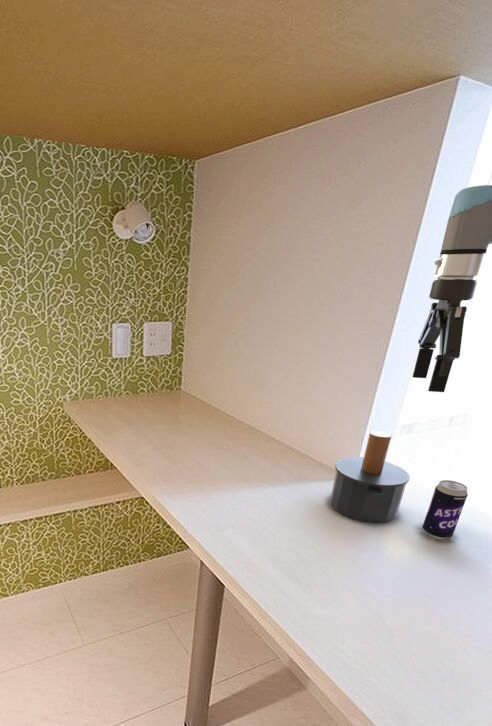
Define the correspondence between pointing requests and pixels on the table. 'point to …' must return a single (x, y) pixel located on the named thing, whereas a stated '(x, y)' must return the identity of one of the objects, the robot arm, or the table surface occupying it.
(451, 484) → the beverage can
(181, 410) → the table surface
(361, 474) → the tin lid
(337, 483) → the tin
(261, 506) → the table surface
